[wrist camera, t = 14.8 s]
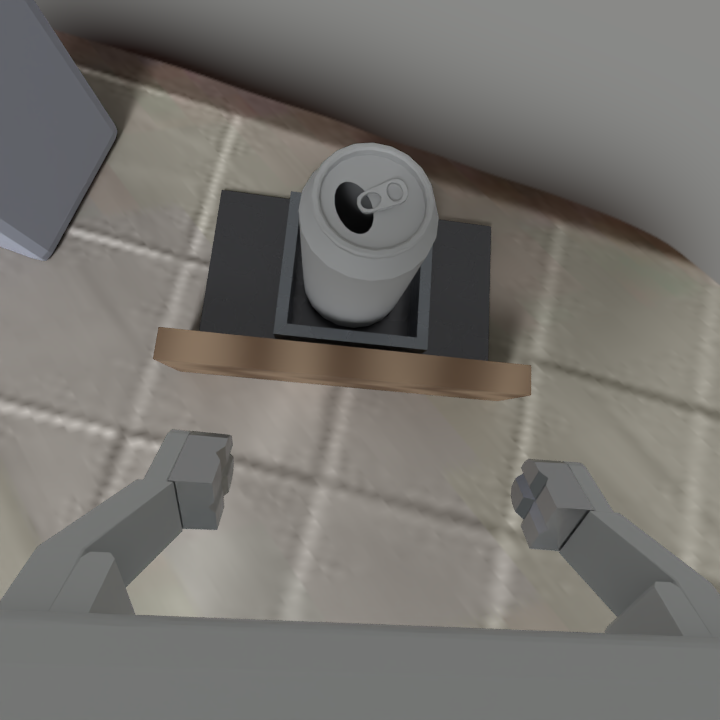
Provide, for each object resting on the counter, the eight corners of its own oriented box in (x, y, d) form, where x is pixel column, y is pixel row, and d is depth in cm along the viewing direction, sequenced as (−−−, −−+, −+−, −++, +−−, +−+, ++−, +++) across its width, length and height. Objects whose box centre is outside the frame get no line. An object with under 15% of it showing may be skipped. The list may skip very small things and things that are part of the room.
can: (291, 253, 31) (277, 144, 20) (381, 229, 32) (419, 114, 21) (320, 342, 30) (324, 285, 18) (412, 315, 31) (470, 245, 20)
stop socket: (488, 229, 34) (507, 206, 31) (485, 368, 32) (505, 360, 28) (222, 193, 32) (212, 165, 29) (199, 339, 30) (185, 327, 26)
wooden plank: (497, 375, 32) (531, 365, 27) (497, 401, 31) (531, 395, 26) (184, 344, 29) (158, 326, 25) (179, 371, 29) (152, 358, 24)
